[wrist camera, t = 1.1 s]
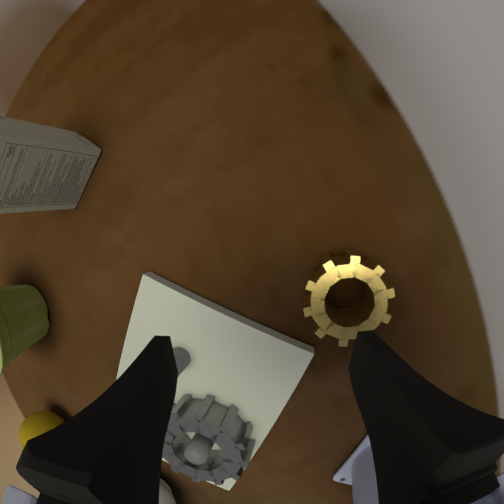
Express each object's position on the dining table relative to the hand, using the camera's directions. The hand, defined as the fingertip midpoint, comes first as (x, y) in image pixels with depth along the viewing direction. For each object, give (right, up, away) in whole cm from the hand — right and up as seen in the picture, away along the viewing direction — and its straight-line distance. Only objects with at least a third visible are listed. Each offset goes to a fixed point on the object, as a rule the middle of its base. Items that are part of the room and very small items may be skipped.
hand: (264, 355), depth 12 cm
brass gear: (+6, +1, +10) cm, 12 cm away
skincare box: (-17, +11, +14) cm, 24 cm away
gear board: (-6, -9, +14) cm, 17 cm away
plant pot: (-24, -2, +17) cm, 30 cm away
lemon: (-24, -17, +18) cm, 34 cm away
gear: (-4, -11, +12) cm, 17 cm away
